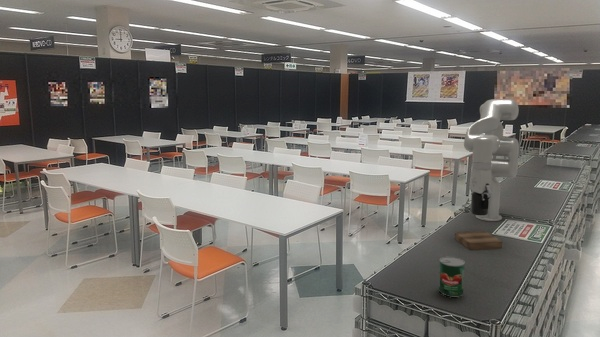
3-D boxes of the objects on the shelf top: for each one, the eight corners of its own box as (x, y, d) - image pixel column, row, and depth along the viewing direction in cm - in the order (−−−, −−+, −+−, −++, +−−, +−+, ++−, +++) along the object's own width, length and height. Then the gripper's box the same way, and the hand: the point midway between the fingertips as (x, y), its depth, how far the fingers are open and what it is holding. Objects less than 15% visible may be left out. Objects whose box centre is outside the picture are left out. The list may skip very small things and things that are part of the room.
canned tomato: (457, 286, 142) (459, 255, 140) (467, 297, 134) (469, 265, 132) (434, 287, 142) (435, 256, 140) (443, 298, 134) (444, 266, 132)
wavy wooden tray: (454, 238, 188) (455, 232, 188) (484, 237, 190) (484, 231, 189) (470, 250, 175) (470, 243, 174) (501, 248, 176) (502, 241, 175)
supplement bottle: (484, 211, 183) (486, 184, 181) (490, 215, 176) (491, 188, 174) (468, 211, 183) (469, 184, 181) (473, 215, 177) (474, 188, 175)
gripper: (463, 163, 184) (461, 202, 187) (484, 169, 167) (481, 212, 170) (479, 162, 185) (477, 201, 188) (502, 169, 168) (499, 211, 171)
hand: (479, 206), depth 179 cm, fingers closed on supplement bottle, 6 cm apart
